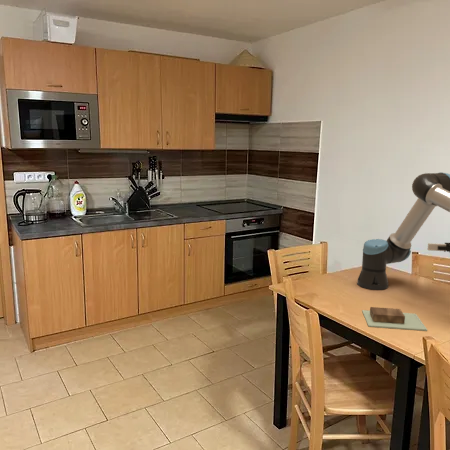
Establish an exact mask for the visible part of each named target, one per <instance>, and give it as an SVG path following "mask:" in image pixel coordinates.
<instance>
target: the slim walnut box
mask: <svg viewBox="0 0 450 450" xmlns="http://www.w3.org/2000/svg"><path fill="white" fill-rule="evenodd" d="M369 311H370V315H371V318H372V320H373V321H376V322H390V323H404V322H405V316H404V314H403V313H404V312H403V311H402V310H401V308H391V307H390V308H389V307H376V306H375V307H374V306H370V307H369Z"/></svg>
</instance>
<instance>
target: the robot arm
mask: <svg viewBox="0 0 450 450" xmlns="http://www.w3.org/2000/svg"><path fill="white" fill-rule="evenodd" d="M411 185H412V186H411V189H412V192H413V195H414V196H415V197H417V200H416V201H415V202H414V204H413V206H412V207H411V208H410V210H409V212H408V213H407V214H406V216H405V218H404V219H403V220H402V222H401V224H400V225H399V227H398V228H397V230H396V231H395V232H393V233H391V234H389V236H388V238H387V240H385V239H381V238H376V239H375V238H373V239H368V240H366V241H364V243H363V247H362V248H363V249H362V260H361V271H360V273H359V276H358V277H357V282H356V283H357V285H358V286H359V287H361V288H364V289H367V290H373V291H375V290H376V291H382V290H386V289H388V288H389V279H388V276H387V272H386V271H387V265H389V264H395V263H400V262H403V261H405V260H407V259H408V258H409V257H410V255H411V253H412V252H411V251H412V250H411V249H412V248H411V247H412V241H413V239H414V238H415V237H416V235H417V234H418V232H419V231H420V229H422V228H421V227H423V225H424V223H425V222H426V221H427V219H428V218H429V216H430V215H431V214H432V212H433V210H434V209H435V208H436V207H439V208H441V209H443V210H445V211H446V212H448V213H450V173H447V172H434V173H430V172H429V173H428V172H425V173H422V174H419V175H418V176H417V177H415V179H414V180H413V182H412V184H411ZM427 250H428V251H433V252H438V251H439V252H444V253H446V252H448V253H450V242H444V243H437V242H436V243H433V242H430V243H429V242H427Z"/></svg>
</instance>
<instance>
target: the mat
mask: <svg viewBox="0 0 450 450" xmlns="http://www.w3.org/2000/svg"><path fill="white" fill-rule="evenodd" d="M361 312H362V314H363V317H364V320H365V321H366V324H367V327H369V328H380V329H381V328H382V329H395V330H406V331H407V330H408V331H409V330H410V331H422V332H427V331H428V328H427V327H426V325H425V324H424V323H423V322H422V320H421V319H420V316H418V315H417V313H414V312H413V313H412V312H411V313H409V312H402V313H403V314H404V316H405V322H404V323H390V322H376V321H373V320H372V318H371V315H370V310H366V309H362V310H361Z"/></svg>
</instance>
